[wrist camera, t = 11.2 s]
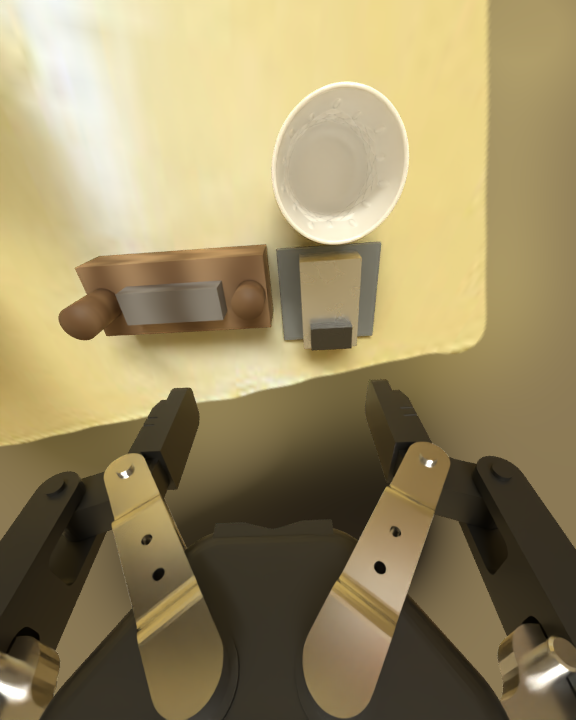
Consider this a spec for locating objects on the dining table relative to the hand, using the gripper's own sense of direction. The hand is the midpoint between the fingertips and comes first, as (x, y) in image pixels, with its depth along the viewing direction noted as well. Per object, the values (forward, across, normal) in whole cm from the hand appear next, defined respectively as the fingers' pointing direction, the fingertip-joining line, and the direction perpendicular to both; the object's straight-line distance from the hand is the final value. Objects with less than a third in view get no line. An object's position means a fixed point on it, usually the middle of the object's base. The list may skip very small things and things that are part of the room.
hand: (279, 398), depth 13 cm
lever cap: (+19, -4, +3) cm, 20 cm away
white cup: (+20, -4, -8) cm, 22 cm away
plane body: (+20, +10, +1) cm, 23 cm away
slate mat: (+20, -5, +3) cm, 21 cm away
